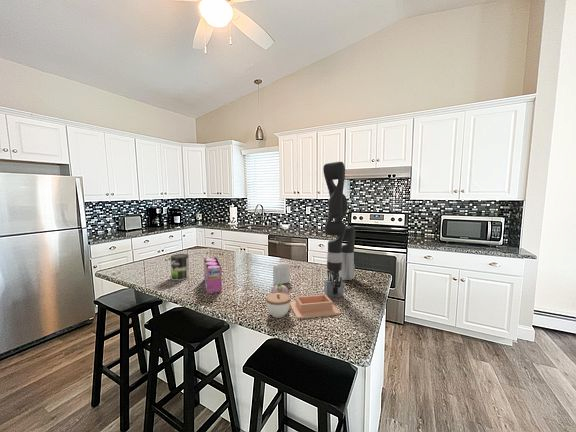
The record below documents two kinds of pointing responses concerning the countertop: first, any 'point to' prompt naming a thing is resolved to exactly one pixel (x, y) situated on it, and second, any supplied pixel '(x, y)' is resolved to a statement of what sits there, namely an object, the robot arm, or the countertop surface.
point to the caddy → (313, 306)
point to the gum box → (212, 275)
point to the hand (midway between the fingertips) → (333, 292)
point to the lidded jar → (278, 304)
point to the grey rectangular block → (329, 289)
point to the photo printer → (281, 273)
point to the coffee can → (179, 267)
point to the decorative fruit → (280, 289)
